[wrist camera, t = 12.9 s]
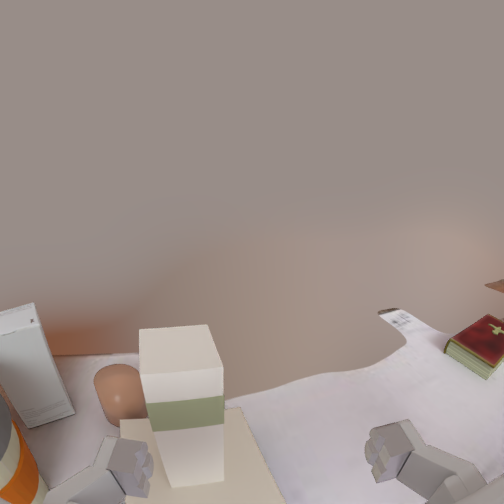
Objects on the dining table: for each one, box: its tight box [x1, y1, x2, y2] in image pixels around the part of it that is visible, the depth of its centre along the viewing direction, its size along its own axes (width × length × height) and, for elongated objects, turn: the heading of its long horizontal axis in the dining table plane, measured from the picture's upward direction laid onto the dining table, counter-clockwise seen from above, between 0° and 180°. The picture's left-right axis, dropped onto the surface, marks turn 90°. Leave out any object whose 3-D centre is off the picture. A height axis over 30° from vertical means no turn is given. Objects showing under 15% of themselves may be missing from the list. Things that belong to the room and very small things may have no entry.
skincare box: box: [0, 302, 75, 429], centre depth 27 cm, size 8×6×15 cm
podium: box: [120, 407, 286, 504], centre depth 24 cm, size 14×14×4 cm
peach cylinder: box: [94, 364, 148, 427], centre depth 32 cm, size 6×6×6 cm
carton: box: [139, 324, 224, 488], centre depth 21 cm, size 5×5×15 cm
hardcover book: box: [444, 314, 504, 380], centre depth 46 cm, size 12×21×4 cm, turn 113°
